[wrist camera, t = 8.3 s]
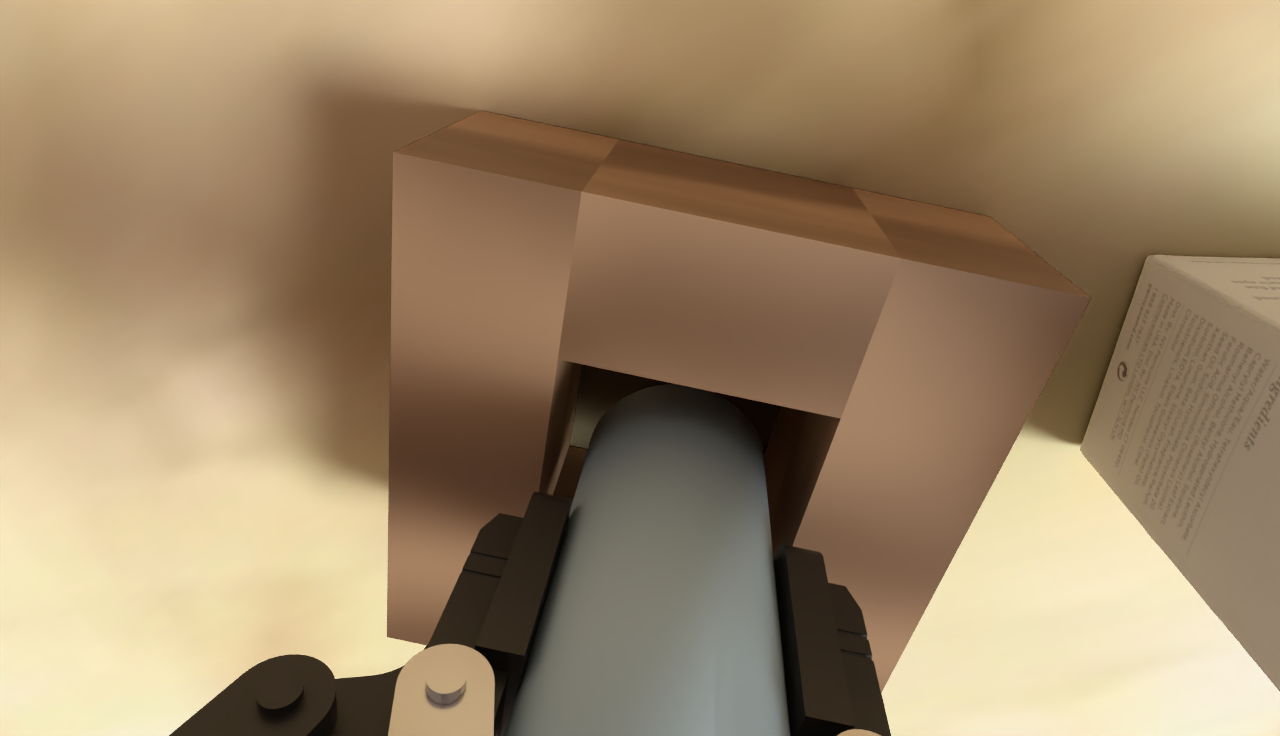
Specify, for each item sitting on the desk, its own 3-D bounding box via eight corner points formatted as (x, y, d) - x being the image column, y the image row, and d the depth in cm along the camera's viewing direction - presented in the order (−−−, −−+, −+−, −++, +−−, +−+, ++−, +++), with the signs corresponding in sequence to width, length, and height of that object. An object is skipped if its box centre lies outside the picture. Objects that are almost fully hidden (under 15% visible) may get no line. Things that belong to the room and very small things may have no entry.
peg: (603, 368, 15) (335, 1216, 5) (784, 405, 15) (935, 1345, 5) (577, 509, 17) (347, 1342, 6) (739, 543, 17) (771, 1432, 6)
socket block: (481, 110, 16) (392, 152, 12) (990, 216, 16) (1091, 297, 12) (453, 508, 22) (387, 636, 18) (830, 588, 22) (858, 736, 17)
